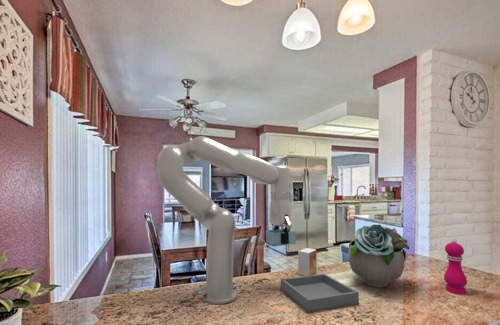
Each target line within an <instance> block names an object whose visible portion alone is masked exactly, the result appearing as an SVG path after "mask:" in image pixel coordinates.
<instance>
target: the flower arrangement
mask: <svg viewBox="0 0 500 325" xmlns="http://www.w3.org/2000/svg"><path fill="white" fill-rule="evenodd" d="M410 248H411V247H410V245H409V244H408V240H406V239H405V238H404V237H403V236H402V235H401V234H400V233H398V231H397V229H396V227H395V228H390V227H387V226H386V227H385V226H384V225H382V224H371V225H367V226H366V225H363V226H362V227H360V228H357V229H356V230H355V233H354V236H353V237H352V239H351V240H350V242H349V244H348V252H347V253H348V254H347V255H348V257H347V258H348V262H349V263H348V264H349V266H350V269H351V271H352V272H353V273H354V274H355V275H357V276H358V277H359V278H361V279H363V281H364V283H365V284H366V285H368V286H370V287H372V288H373V287H375V288H385V287H387V286H388V284H389V283H391V282H395V281H396V280H398V279H400V278H401V277H402V275H403V272H404V269H405V262H406V259H407V258H406V257H407V256H406V255H407V252H406V250H410ZM405 249H406V250H405Z"/></svg>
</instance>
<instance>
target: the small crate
mask: <svg viewBox="0 0 500 325" xmlns="http://www.w3.org/2000/svg"><path fill="white" fill-rule="evenodd" d="M281 233H282V231H281V228H280V229H277V230H272V229H269V230H267V229H266V230H265V240H266V241H265V243H266V244H267V245H269V246H271V247H279V246H281V247H282V246H288V245H296V243H297V242H296V239H297V238H296V231H295V230H293V229H291V228H290V231H289V243H288V244H281Z"/></svg>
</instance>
